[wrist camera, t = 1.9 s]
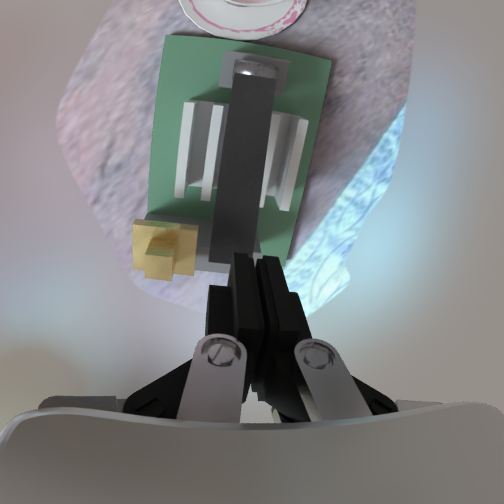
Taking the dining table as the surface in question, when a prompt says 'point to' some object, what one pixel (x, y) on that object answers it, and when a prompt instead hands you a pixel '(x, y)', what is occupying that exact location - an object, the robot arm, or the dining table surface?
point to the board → (212, 135)
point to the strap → (243, 160)
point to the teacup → (243, 17)
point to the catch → (164, 248)
